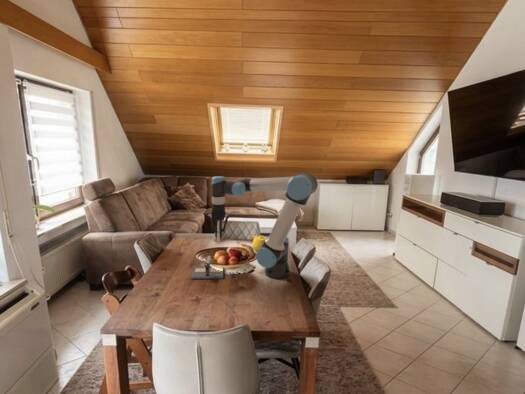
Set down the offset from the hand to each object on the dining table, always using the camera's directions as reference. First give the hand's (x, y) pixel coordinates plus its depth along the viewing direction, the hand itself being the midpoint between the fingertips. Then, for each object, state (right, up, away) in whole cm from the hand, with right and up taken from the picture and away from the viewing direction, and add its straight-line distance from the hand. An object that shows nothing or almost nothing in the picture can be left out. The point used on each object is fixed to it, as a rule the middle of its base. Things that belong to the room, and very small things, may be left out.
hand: (218, 242), depth 180 cm
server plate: (-6, -18, 0) cm, 19 cm away
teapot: (+25, -12, +39) cm, 48 cm away
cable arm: (-6, -12, -1) cm, 14 cm away
